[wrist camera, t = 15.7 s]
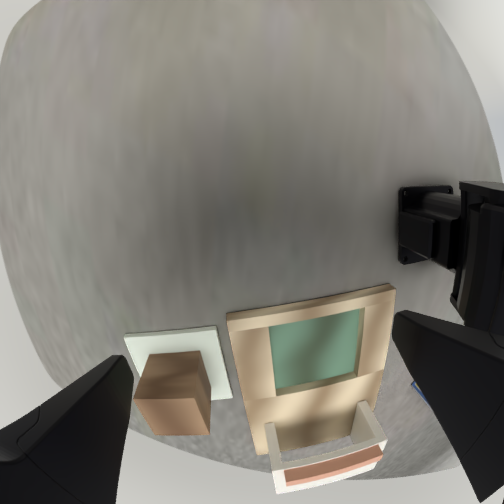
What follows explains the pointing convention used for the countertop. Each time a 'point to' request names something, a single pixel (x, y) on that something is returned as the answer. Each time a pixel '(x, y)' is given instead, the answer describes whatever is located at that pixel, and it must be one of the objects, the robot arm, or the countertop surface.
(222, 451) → the countertop surface
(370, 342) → the puzzle board
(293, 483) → the panel
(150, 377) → the walnut block
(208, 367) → the coaster pad
